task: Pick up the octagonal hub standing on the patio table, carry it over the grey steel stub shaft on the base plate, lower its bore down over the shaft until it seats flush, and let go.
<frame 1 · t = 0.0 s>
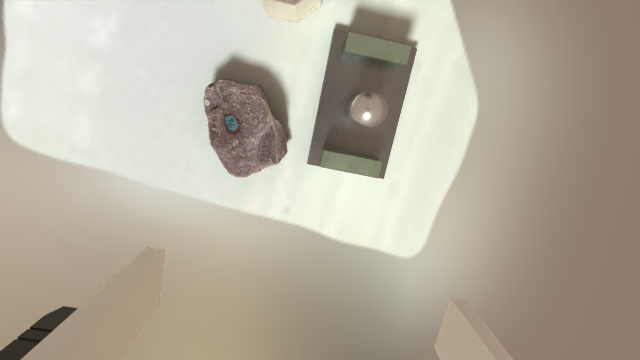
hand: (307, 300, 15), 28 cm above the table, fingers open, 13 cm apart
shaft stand: (358, 108, 40), on the table
rock: (249, 126, 41), on the table
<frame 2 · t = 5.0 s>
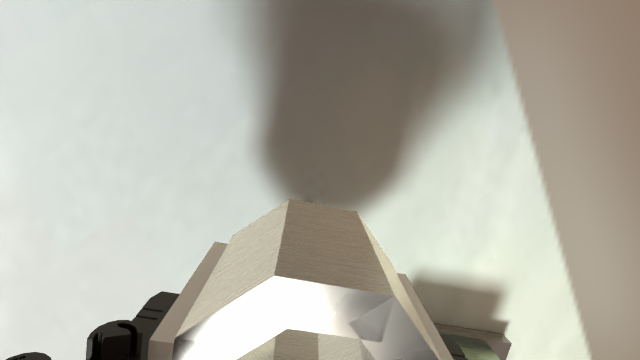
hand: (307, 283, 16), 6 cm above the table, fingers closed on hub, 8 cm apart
hub: (307, 279, 16), point 5 cm above the table, touching gripper
when the fingers open (2 cm above the table, at t = 10.3 s): hub stays where it is, resting on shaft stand.
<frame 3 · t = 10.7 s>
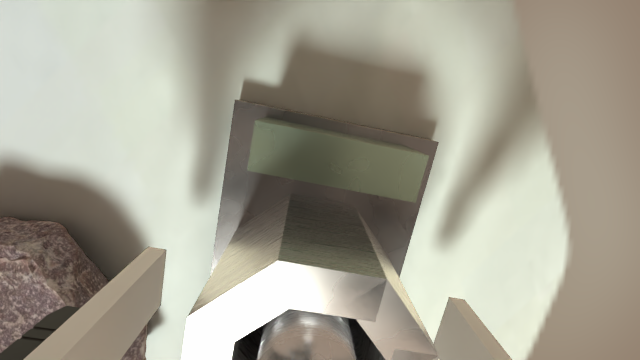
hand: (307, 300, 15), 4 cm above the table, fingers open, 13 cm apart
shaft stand: (307, 261, 18), on the table
rock: (72, 298, 19), on the table
hub: (307, 270, 17), point 1 cm above the table, touching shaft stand
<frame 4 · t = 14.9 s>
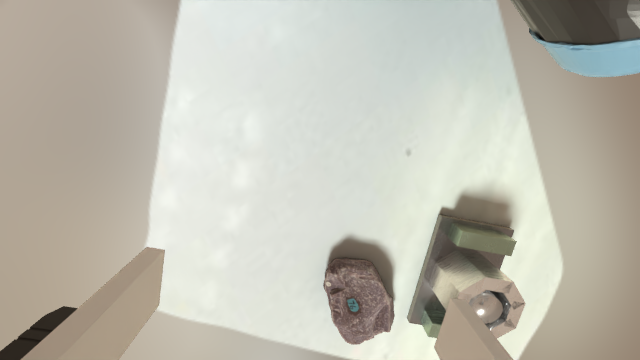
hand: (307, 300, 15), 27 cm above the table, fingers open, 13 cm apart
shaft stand: (456, 274, 45), on the table
rock: (357, 290, 45), on the table
hub: (460, 278, 44), point 1 cm above the table, touching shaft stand
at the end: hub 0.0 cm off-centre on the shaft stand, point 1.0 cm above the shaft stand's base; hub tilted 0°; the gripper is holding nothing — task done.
